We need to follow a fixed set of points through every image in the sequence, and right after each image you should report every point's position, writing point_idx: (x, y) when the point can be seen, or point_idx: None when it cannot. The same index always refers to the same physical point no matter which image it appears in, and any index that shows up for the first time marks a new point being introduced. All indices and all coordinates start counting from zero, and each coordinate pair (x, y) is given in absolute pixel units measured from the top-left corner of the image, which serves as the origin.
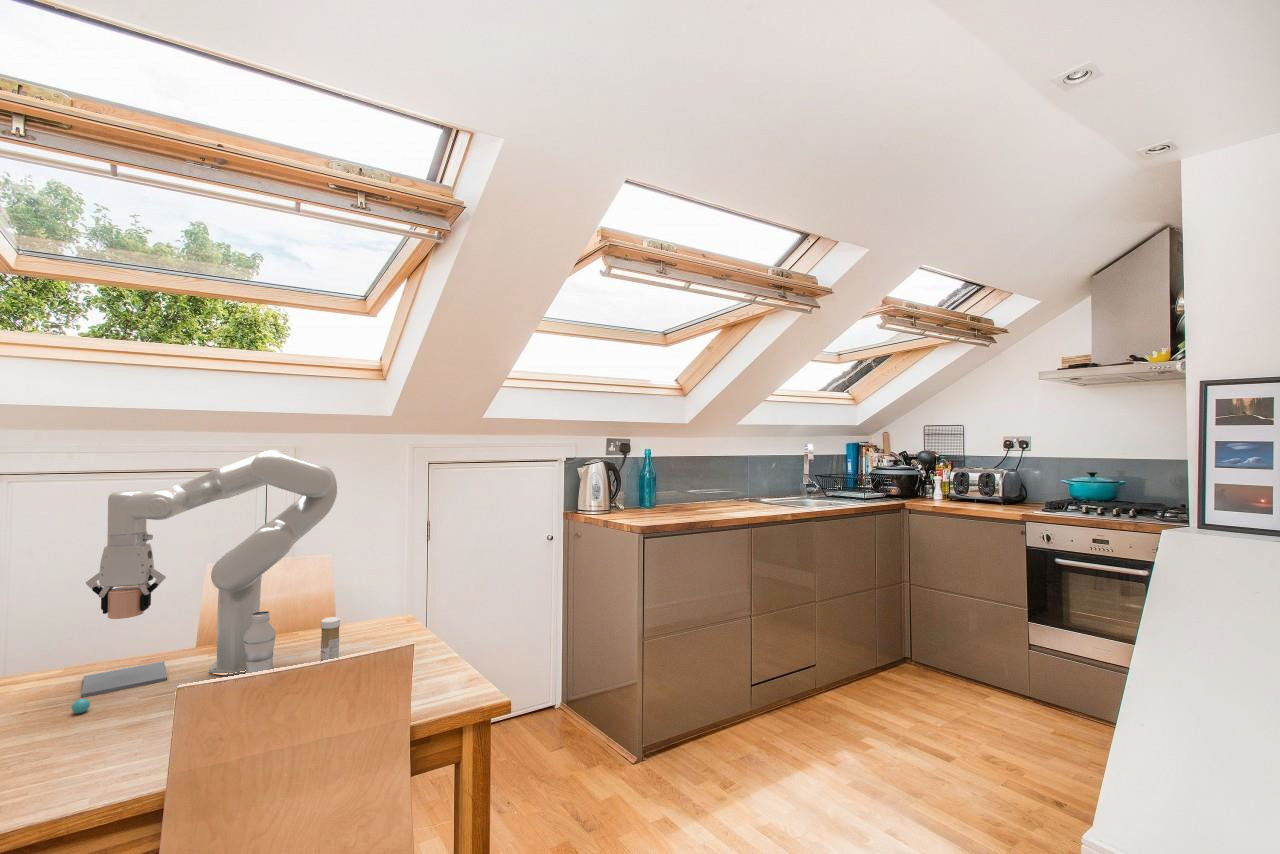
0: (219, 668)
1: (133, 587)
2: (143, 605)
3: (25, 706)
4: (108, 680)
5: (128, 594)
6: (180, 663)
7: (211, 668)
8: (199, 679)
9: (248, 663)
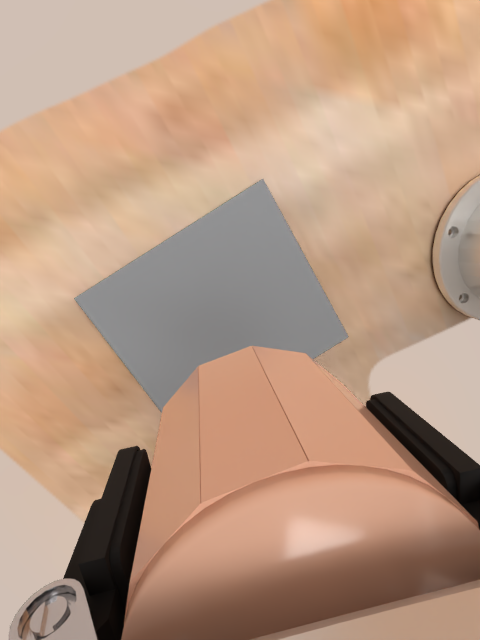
0: (475, 295)
1: (376, 592)
2: None
3: (75, 479)
4: (188, 347)
5: None
6: (313, 179)
7: (452, 291)
8: (426, 334)
9: None
